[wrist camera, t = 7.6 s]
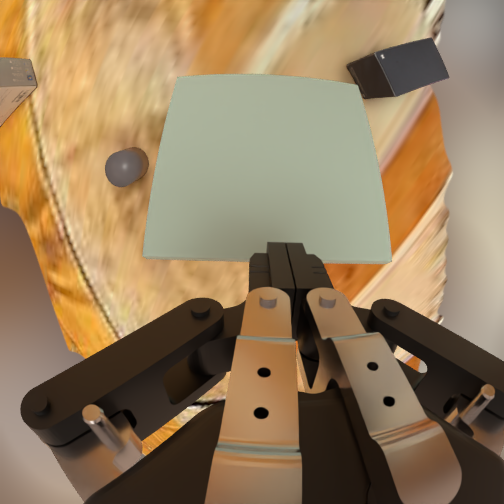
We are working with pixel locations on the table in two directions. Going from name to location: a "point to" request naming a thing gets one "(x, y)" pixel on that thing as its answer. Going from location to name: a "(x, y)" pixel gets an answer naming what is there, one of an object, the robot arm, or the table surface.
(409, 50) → the small box
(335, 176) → the lid
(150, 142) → the table surface
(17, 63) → the hard drive box
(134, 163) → the dark grey cylinder
